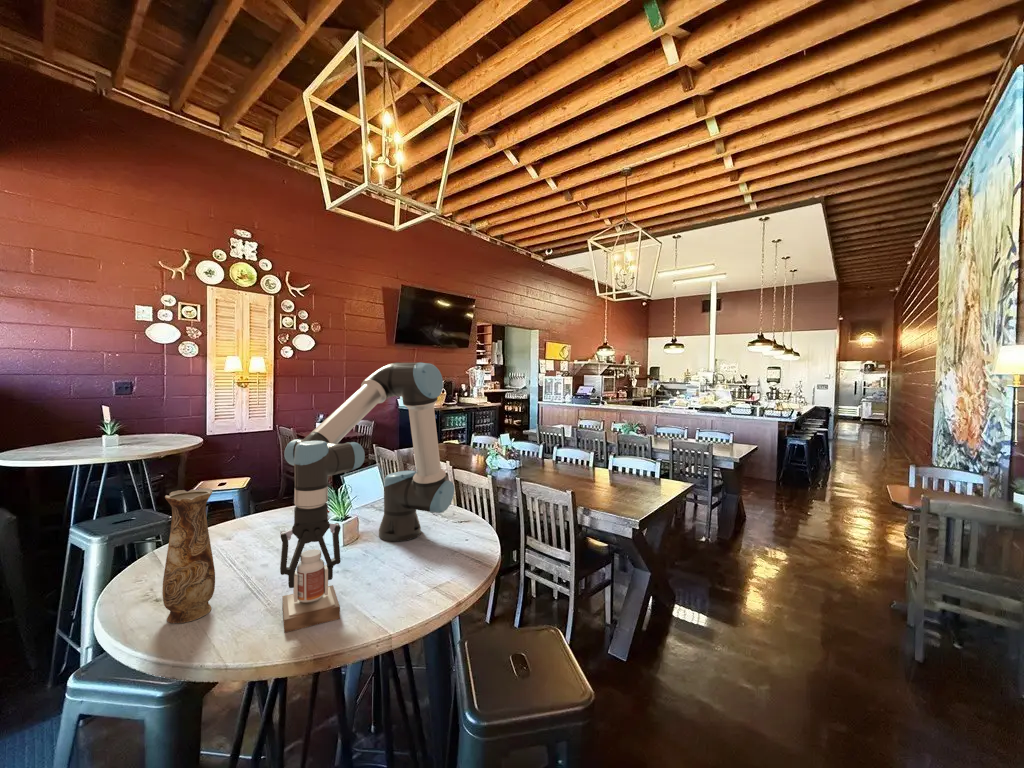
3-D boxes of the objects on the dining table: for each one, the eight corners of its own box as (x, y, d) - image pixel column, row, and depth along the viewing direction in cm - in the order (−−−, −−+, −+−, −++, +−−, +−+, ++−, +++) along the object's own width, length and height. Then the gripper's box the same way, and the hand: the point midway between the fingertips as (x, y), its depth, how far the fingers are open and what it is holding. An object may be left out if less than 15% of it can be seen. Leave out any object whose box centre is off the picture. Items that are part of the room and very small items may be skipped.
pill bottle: (328, 590, 111) (328, 547, 111) (318, 603, 105) (318, 558, 104) (303, 590, 111) (303, 547, 110) (292, 603, 104) (292, 558, 104)
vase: (161, 630, 99) (160, 501, 99) (164, 609, 108) (163, 490, 107) (215, 616, 105) (215, 494, 105) (214, 597, 114) (214, 485, 113)
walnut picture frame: (332, 596, 116) (333, 584, 116) (339, 618, 105) (339, 605, 105) (282, 607, 110) (282, 594, 110) (284, 632, 99) (284, 618, 99)
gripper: (349, 495, 115) (348, 580, 116) (266, 505, 105) (266, 598, 106) (354, 503, 108) (353, 593, 109) (267, 514, 99) (266, 613, 100)
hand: (310, 595), depth 108 cm, fingers closed on pill bottle, 6 cm apart
